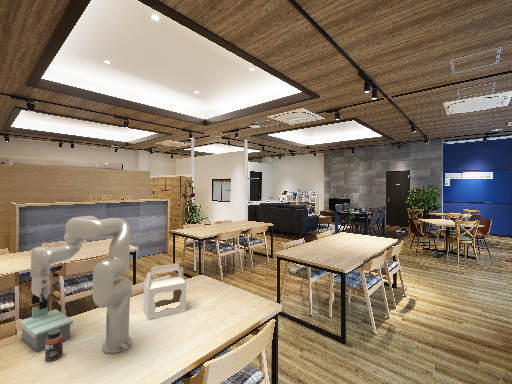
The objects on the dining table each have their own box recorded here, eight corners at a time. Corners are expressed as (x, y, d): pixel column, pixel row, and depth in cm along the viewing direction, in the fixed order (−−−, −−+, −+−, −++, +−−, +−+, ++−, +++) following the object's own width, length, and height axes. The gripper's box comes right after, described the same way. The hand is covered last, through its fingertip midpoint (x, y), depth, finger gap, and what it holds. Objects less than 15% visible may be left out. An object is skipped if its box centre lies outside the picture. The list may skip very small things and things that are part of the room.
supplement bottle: (60, 351, 116) (60, 326, 116) (64, 357, 112) (64, 331, 112) (43, 357, 111) (43, 331, 111) (46, 363, 107) (47, 336, 107)
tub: (69, 338, 125) (70, 322, 125) (36, 352, 114) (36, 334, 114) (54, 327, 135) (54, 312, 135) (22, 339, 124) (22, 322, 124)
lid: (73, 324, 126) (73, 309, 126) (34, 339, 113) (35, 322, 113) (55, 313, 136) (56, 299, 136) (19, 325, 124) (19, 310, 124)
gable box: (147, 320, 145) (148, 270, 144) (142, 311, 155) (143, 264, 155) (186, 310, 157) (187, 264, 157) (179, 302, 168) (180, 259, 168)
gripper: (56, 273, 127) (55, 308, 128) (42, 266, 137) (41, 298, 137) (37, 277, 121) (36, 313, 121) (24, 270, 130) (23, 303, 131)
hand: (39, 305), depth 129 cm, fingers open, 9 cm apart
